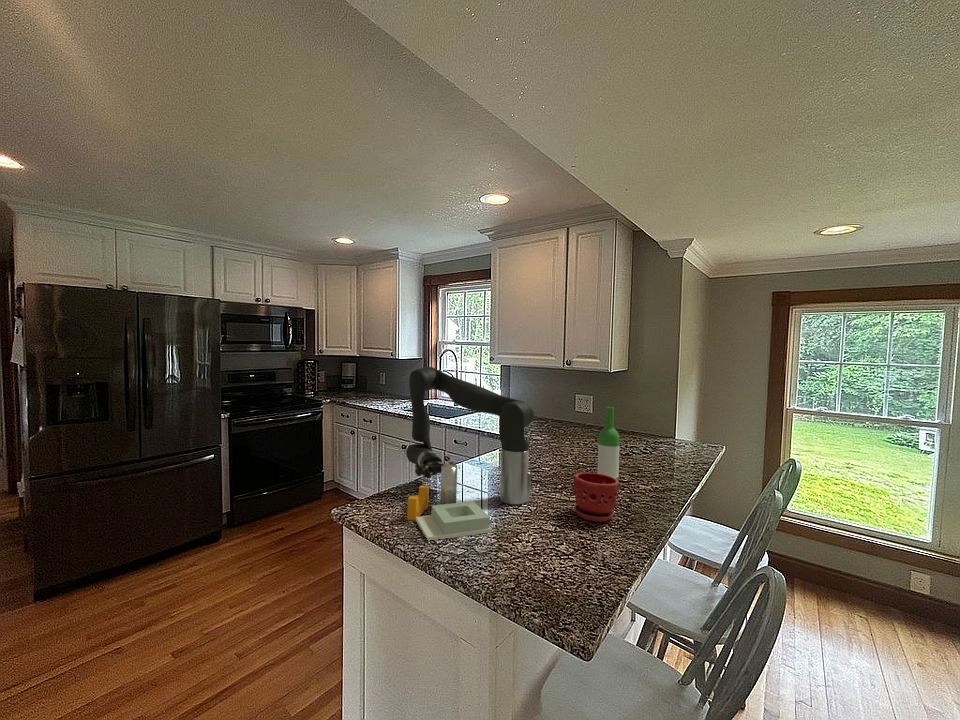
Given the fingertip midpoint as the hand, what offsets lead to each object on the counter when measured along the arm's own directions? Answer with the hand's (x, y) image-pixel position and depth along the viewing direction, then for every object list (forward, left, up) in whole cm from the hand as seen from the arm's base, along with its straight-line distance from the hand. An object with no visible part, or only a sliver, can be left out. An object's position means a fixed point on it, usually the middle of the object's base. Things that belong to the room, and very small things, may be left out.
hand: (441, 474), depth 137 cm
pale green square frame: (+3, +23, -8) cm, 24 cm away
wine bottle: (-66, +4, -8) cm, 67 cm away
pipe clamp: (+11, +9, -8) cm, 16 cm away
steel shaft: (0, +9, -8) cm, 12 cm away
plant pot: (-41, +29, -8) cm, 51 cm away
